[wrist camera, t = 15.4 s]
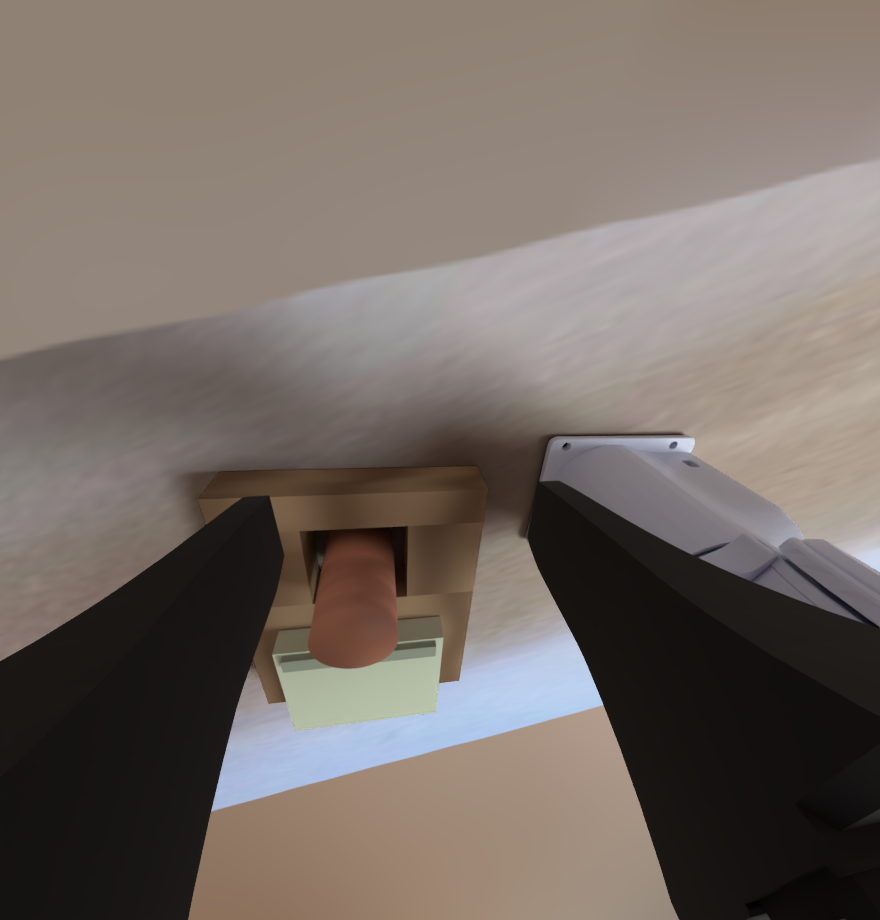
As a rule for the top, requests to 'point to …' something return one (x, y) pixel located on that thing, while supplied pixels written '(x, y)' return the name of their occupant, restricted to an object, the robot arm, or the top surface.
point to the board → (368, 506)
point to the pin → (355, 600)
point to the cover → (361, 679)
